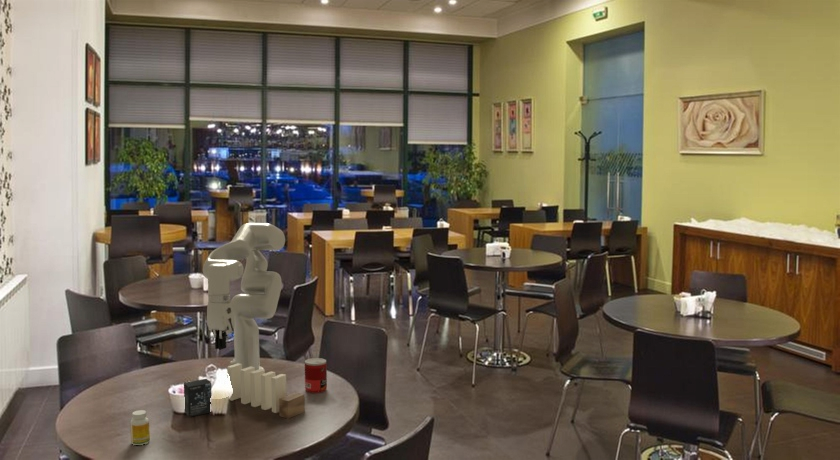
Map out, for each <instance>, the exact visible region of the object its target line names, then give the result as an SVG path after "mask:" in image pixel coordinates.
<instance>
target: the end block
mask: <svg viewBox="0 0 840 460" xmlns="http://www.w3.org/2000/svg"><path fill="white" fill-rule="evenodd" d="M305 398H306V396H305V394H304V393H302V392H301V393H300V392H296V391H295V392H293V393H290V394H288V395H286V396H285V397H282V398H280V399H279V412H278V413H279V417H282V418H285V419H291V418H293V417H295V416H297V415H298V416H299V415H300V414H302V413H305V412H306V409H305V407H306V405H305V403H306V401H305Z"/></svg>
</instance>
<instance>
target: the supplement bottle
mask: <svg viewBox="0 0 840 460" xmlns="http://www.w3.org/2000/svg"><path fill="white" fill-rule="evenodd" d="M131 413H132V415H131V416H132V419H131V420H130V422H129V424H130V425H129V426H130V430H129V431H130V444H131V445H132V444H133V445H132V446H134V445H142V446H144V445H143V444H145V445H147V444H149V443H150V441H151V440H150V439H151V438H150V420H149V418H148V417H147V410H144V409H141V410H140V409H139V410H134V411H133V412H131ZM148 442H149V443H148Z"/></svg>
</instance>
